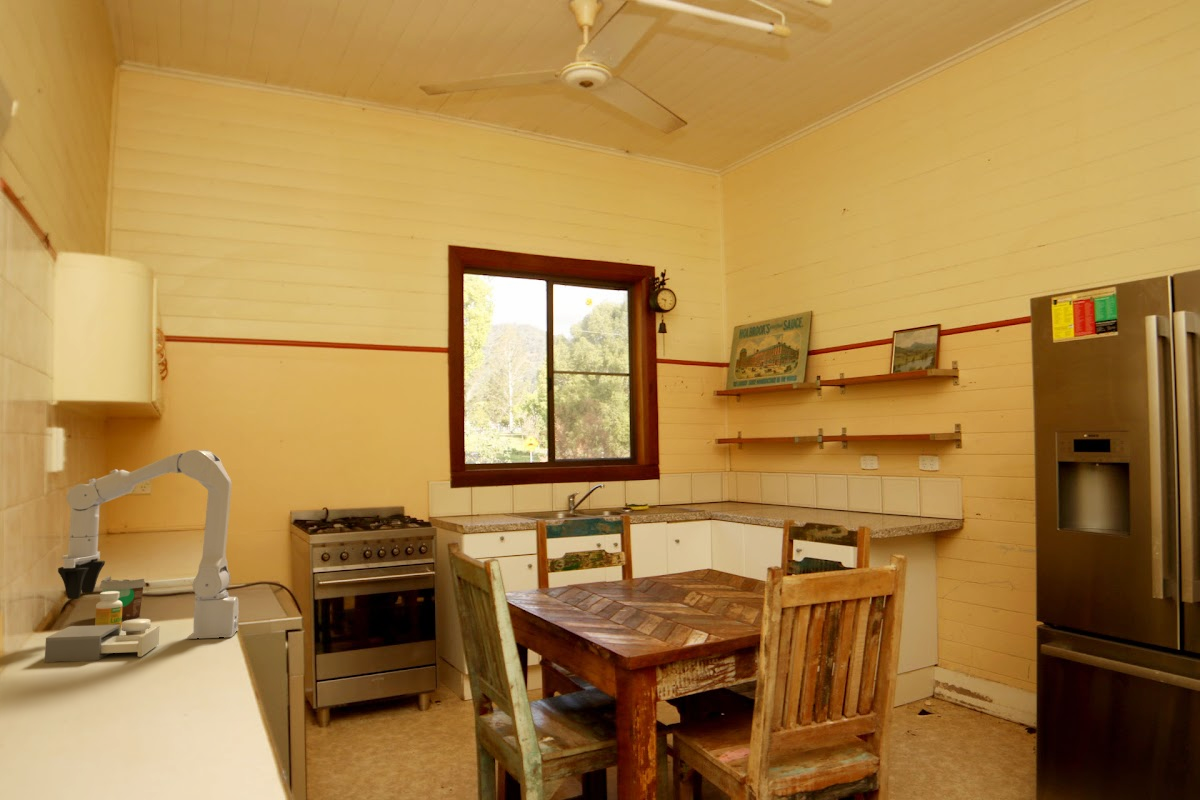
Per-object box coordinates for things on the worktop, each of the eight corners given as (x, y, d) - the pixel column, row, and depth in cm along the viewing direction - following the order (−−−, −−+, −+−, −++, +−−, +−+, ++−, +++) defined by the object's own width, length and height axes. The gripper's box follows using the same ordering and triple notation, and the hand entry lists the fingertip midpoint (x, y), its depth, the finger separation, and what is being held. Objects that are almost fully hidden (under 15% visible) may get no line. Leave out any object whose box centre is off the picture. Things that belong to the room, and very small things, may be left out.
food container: (86, 618, 205) (88, 579, 205) (107, 614, 211) (109, 576, 211) (123, 622, 201) (125, 582, 202) (143, 617, 207) (145, 578, 208)
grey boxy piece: (118, 647, 175) (119, 624, 176) (98, 660, 165) (99, 635, 165) (68, 649, 173) (69, 626, 174) (44, 662, 163) (45, 637, 163)
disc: (153, 625, 182) (154, 618, 182) (145, 630, 176) (145, 623, 177) (126, 626, 181) (127, 619, 181) (117, 631, 175) (117, 624, 175)
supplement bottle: (111, 636, 186) (113, 594, 186) (89, 636, 186) (91, 594, 186) (126, 631, 191) (127, 590, 192) (104, 631, 191) (106, 590, 192)
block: (144, 642, 180) (145, 626, 180) (140, 645, 177) (140, 629, 177) (130, 643, 180) (131, 627, 180) (125, 646, 177) (126, 630, 177)
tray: (158, 644, 177) (159, 626, 177) (141, 656, 167) (142, 637, 167) (109, 646, 175) (110, 627, 175) (88, 658, 164) (89, 639, 165)
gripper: (78, 533, 190) (75, 590, 189) (49, 539, 175) (46, 602, 174) (110, 532, 191) (107, 589, 190) (85, 539, 177) (82, 600, 176)
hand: (80, 595), depth 182 cm, fingers open, 7 cm apart
